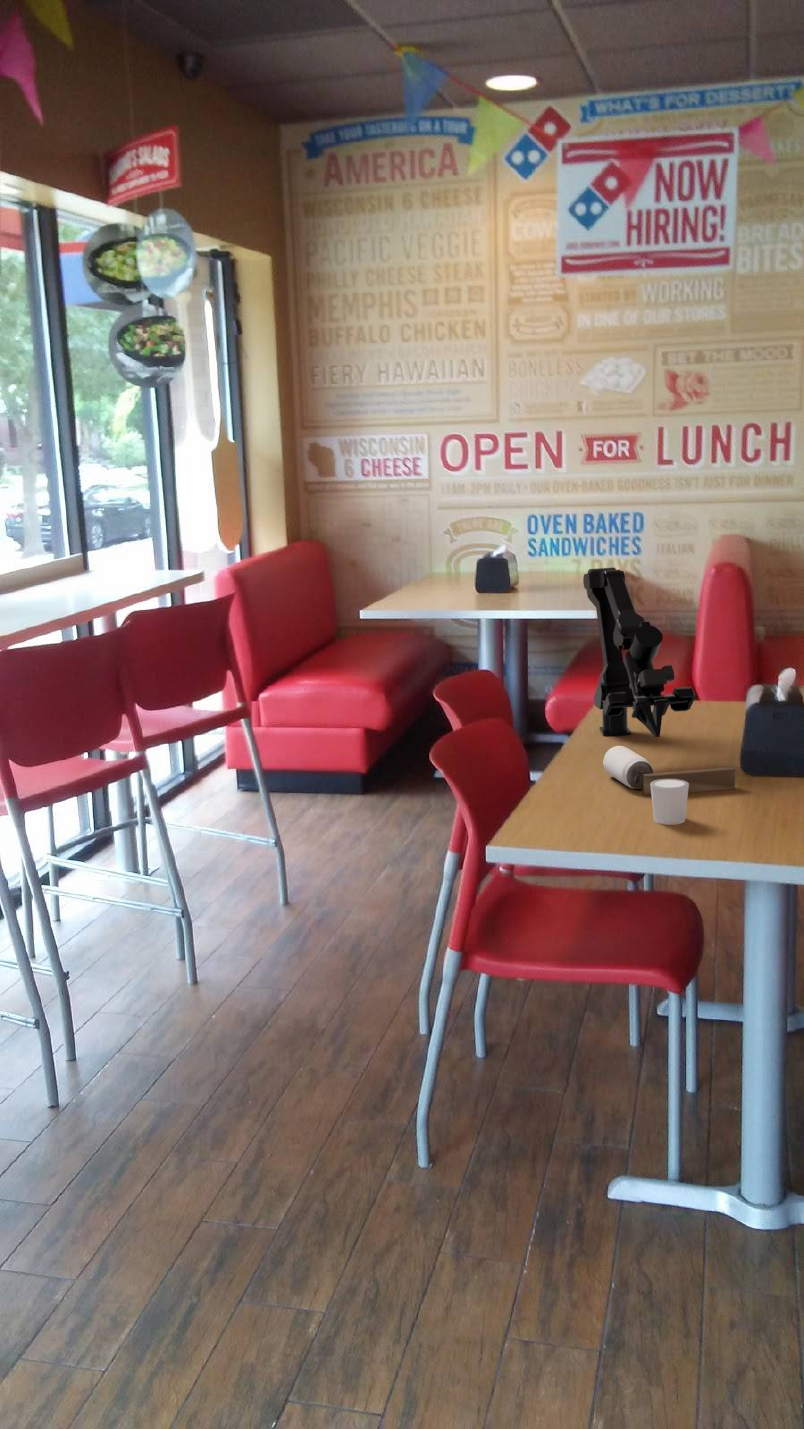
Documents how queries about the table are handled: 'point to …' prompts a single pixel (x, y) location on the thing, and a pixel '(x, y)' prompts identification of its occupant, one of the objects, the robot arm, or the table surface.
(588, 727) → the table surface
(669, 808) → the white cup
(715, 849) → the table surface
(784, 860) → the table surface
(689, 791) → the rail
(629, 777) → the can
